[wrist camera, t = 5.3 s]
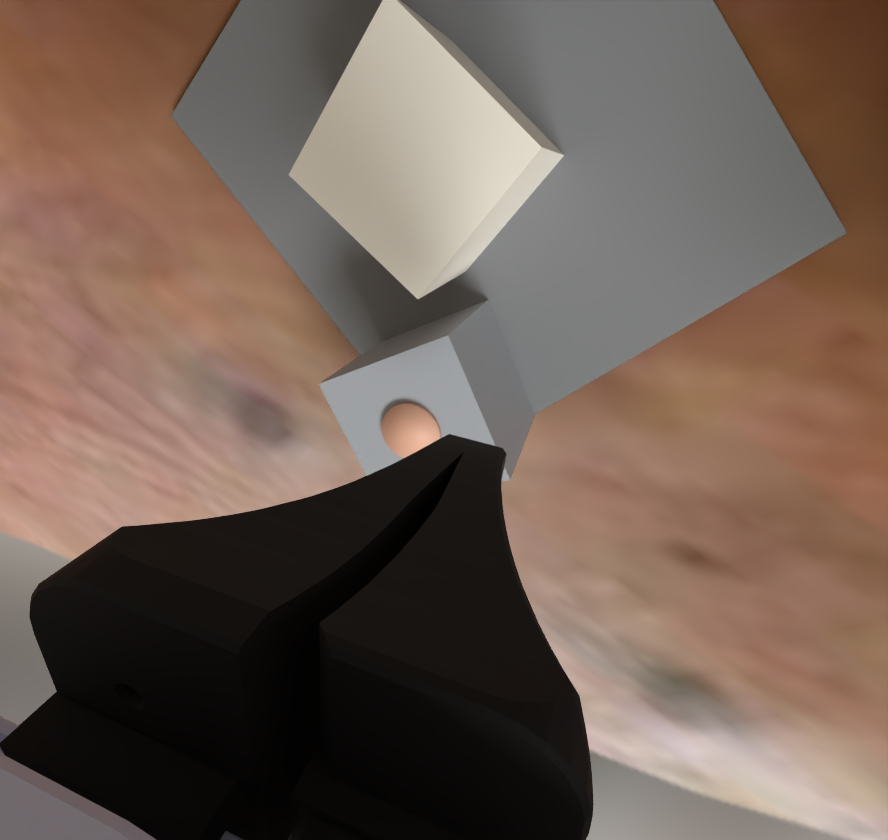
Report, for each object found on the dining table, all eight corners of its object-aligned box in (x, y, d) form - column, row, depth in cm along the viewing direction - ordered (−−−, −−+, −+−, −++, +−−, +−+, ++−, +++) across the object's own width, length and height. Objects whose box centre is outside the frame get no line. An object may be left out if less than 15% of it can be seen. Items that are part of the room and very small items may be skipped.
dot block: (488, 299, 19) (446, 337, 15) (534, 416, 20) (508, 483, 16) (381, 342, 21) (315, 386, 17) (429, 444, 23) (380, 510, 18)
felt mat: (486, -384, 12) (482, -400, 12) (841, 231, 15) (846, 232, 15) (178, 117, 20) (170, 116, 20) (449, 460, 23) (447, 465, 23)
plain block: (452, 41, 16) (387, -10, 12) (564, 155, 16) (541, 147, 12) (367, 175, 18) (288, 174, 14) (465, 271, 19) (417, 299, 15)
